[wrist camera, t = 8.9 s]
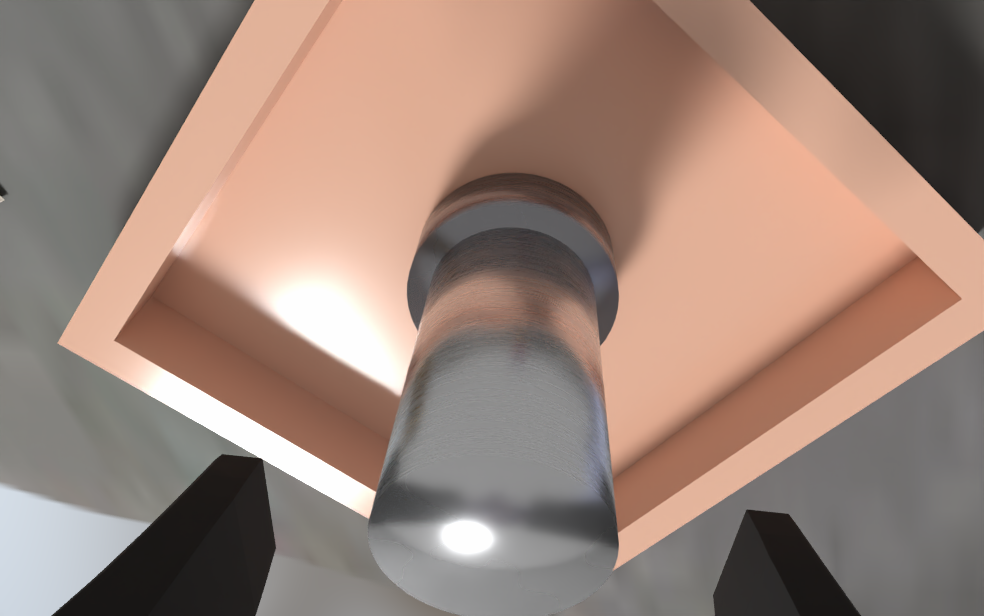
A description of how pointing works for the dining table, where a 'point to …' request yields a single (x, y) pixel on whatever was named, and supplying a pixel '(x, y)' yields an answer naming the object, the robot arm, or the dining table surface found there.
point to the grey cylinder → (503, 407)
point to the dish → (563, 158)
